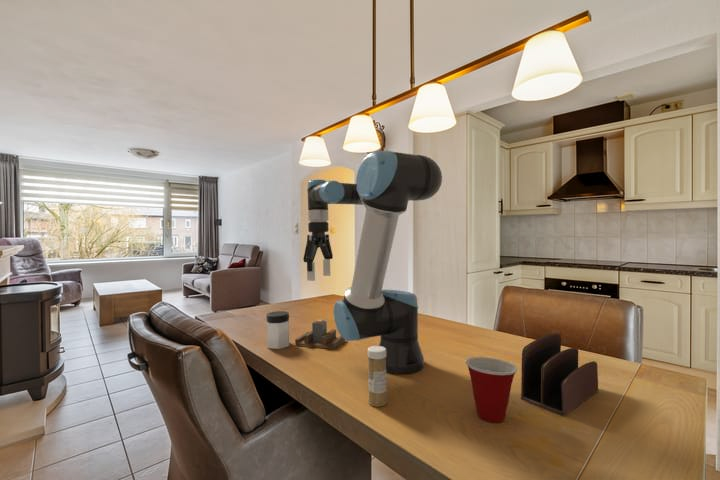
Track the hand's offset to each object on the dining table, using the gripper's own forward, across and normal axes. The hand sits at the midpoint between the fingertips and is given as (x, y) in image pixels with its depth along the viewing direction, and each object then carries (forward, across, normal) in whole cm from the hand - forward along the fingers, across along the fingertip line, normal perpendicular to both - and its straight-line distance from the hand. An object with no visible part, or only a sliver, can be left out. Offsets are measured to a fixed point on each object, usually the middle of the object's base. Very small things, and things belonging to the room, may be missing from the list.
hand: (319, 278), depth 128 cm
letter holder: (+25, +20, +76) cm, 82 cm away
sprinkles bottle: (+25, +37, +33) cm, 55 cm away
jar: (+25, +7, -14) cm, 29 cm away
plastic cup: (+25, +35, +59) cm, 73 cm away
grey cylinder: (+24, 0, 0) cm, 24 cm away
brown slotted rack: (+25, 0, 0) cm, 25 cm away
